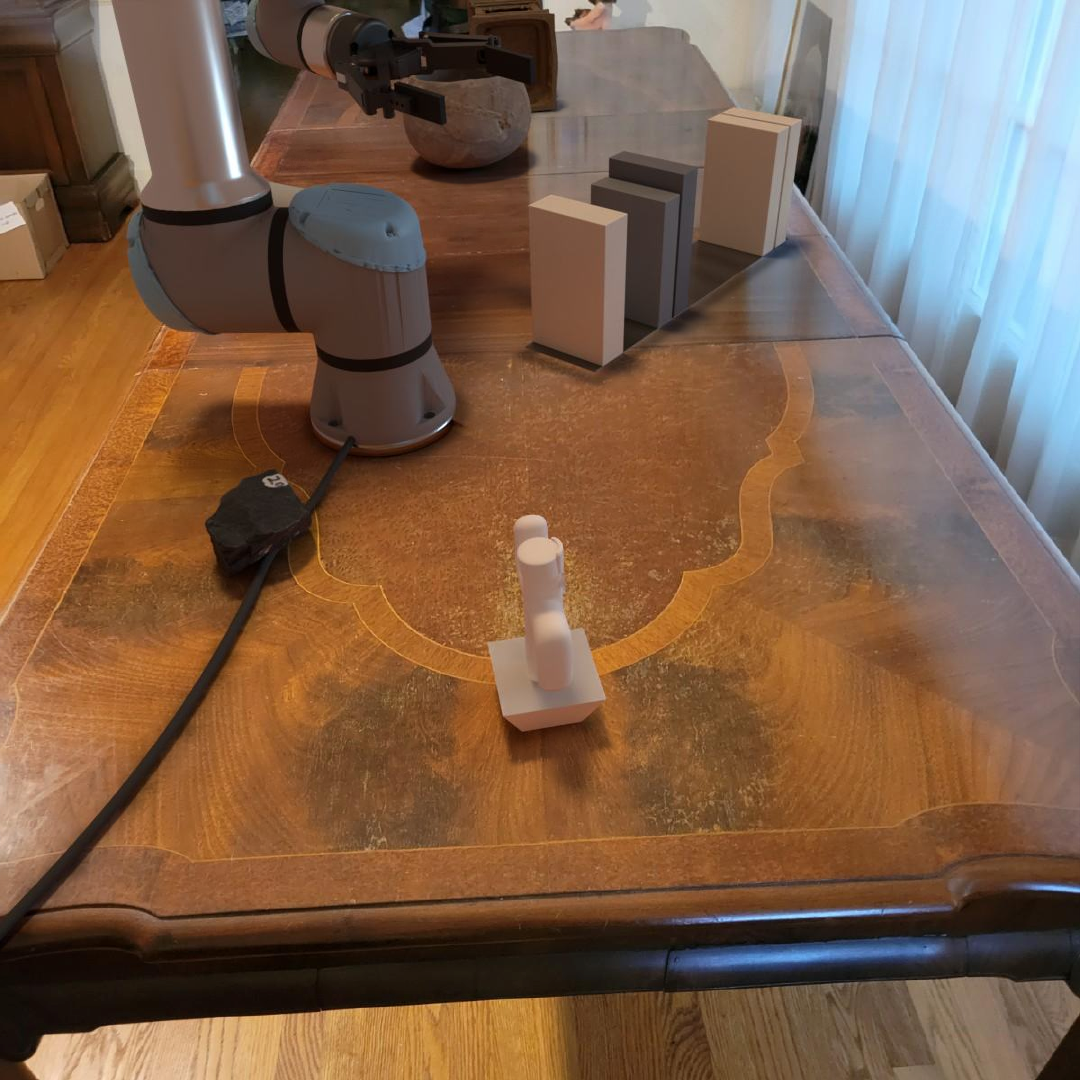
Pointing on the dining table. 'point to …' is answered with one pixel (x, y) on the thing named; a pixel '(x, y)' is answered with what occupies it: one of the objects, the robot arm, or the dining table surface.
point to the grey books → (652, 231)
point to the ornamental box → (522, 40)
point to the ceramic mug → (283, 194)
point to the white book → (578, 277)
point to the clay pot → (470, 118)
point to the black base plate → (706, 275)
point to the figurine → (544, 642)
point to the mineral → (256, 521)
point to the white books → (748, 179)
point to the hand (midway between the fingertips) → (489, 90)
